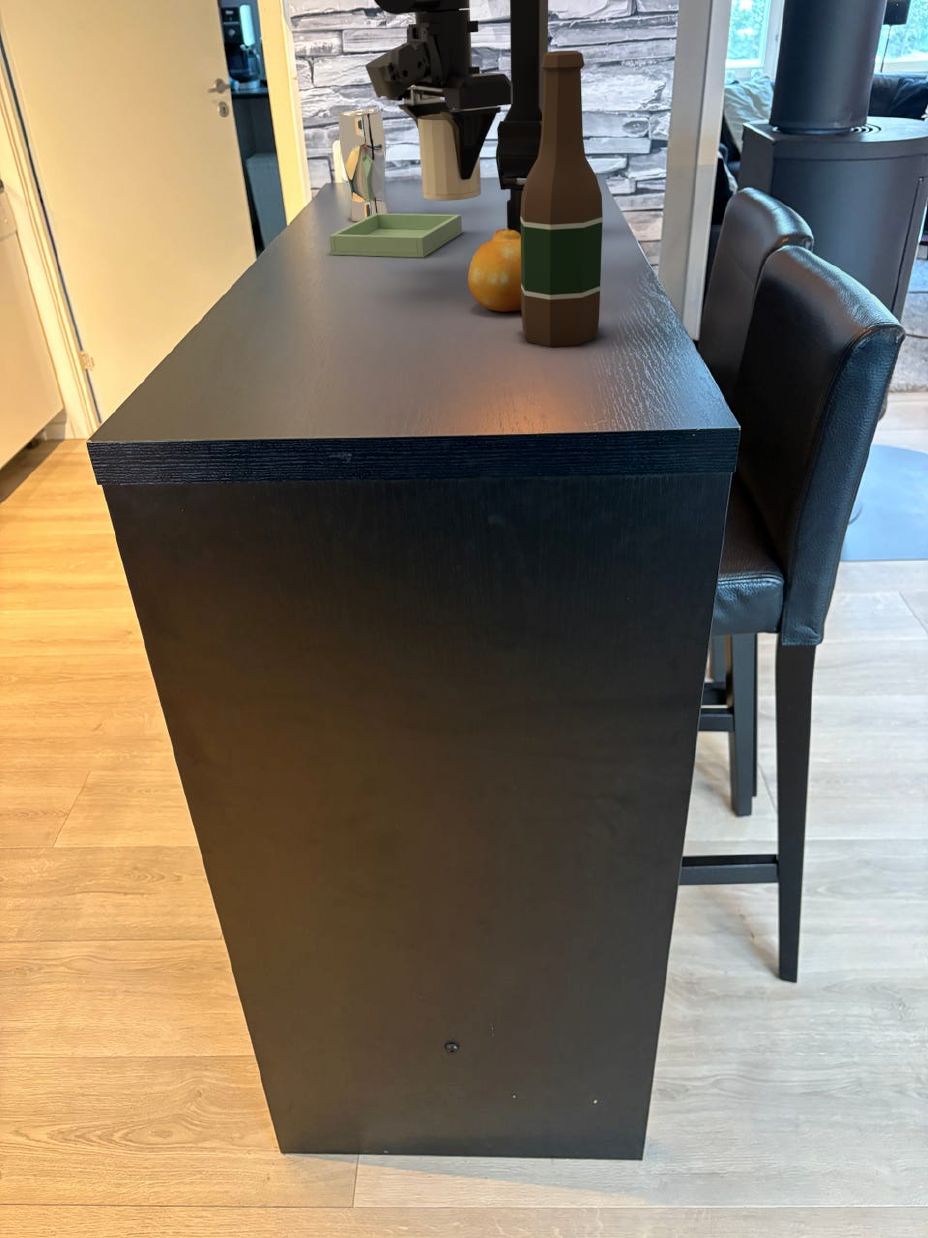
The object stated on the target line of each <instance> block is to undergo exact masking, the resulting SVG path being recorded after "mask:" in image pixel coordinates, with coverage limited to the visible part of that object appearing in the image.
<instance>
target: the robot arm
mask: <svg viewBox="0 0 928 1238" xmlns="http://www.w3.org/2000/svg"><path fill="white" fill-rule="evenodd" d="M373 1H374V3H375V4H376V5H377V6H378V8H380V10H382V11H384V12H385V13H387V14H391V15H404V14H405V15H407V14H414V22H415V23H408V25H407V26H408V27H407V28H406V42H404V43H402V44H400V45H399V46H396V47H394V48H392V49H390V50H389V51H387V52H385V53H382V54H381V55H379V56H378V57H376V58H375V59H372V60H371V61H369V62H368V63H366V64H365V70H366V73H367V75H368V77H369V80H370V82H371V85H372V87H373V90H374V92H375V95H376V98H381V97H385V98H387V100H388V101H392V102H393V101H394V102H401V101H403V103H400V104H399V103H398V104H397V107H398V109H400V110H401V111H403V112H404V113H406V114H407V115H408V117H410V118H411V119H412V120H413V122H414V123H415V125H416V128H417V129H418V117H421V116H425V115H431V114H442V116H443V117H444V118H445V119H446V120H447V121H448V122H449V124H450V125H451V126H452V128H453V135H454V142H455V149H456V156H457V163H458V169H459V174H460V178H461V179H462V180H467V179H470V178H471V176H472V173H473V170H474V168H475V165H476V162H477V160H478V157H479V155H480V154H481V151H482V149H483V146H484V144H485V142H486V139H487V137H488V135H489V132H490V131H491V127H492V125H493V123H494V121H495V118H496V116H497V114H500V113H501V111H502V107H501V106H510V107H509V108H508V110H507V113H506V115H505V116H504V118H503V120H500V121H499V123H498V124H497V128H496V134H497V145H496V149H495V164H496V171H497V175H498V181H499V187H500V190H501V191H506V190H509V191H510V192H509V199H508V200H507V201H506V228H509V230H514V231H516V232H518V233H519V234H520V235H521V219H520V215H521V198H522V192H523V189H524V185H525V182H526V179H527V176H528V174H529V172H530V171H531V169H532V167H533V165H534V164H535V162H536V160H537V158H538V155H539V148H540V142H541V130H542V111H543V93H544V74H545V71H544V69H543V68H542V67H541V64H542V60H543V55H544V54H546V53H548V52H549V0H509V31H510V32H509V33H510V35H509V36H510V37H509V40H510V42H509V43H510V44H509V45H510V47H509V48H510V78H509V77H508V76H507V75H506V73H501V72H500V73H499V72H481V71H480V70H481V69H480V68H481V67H480V66H476V65H473V59H472V57H473V56H472V55H473V54H472V33H479V20H471V9H470V8H471V5H470V0H373ZM442 98H444V99H442Z"/></svg>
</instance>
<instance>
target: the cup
mask: <svg viewBox="0 0 928 1238" xmlns="http://www.w3.org/2000/svg"><path fill="white" fill-rule="evenodd" d="M417 131H418V144H419V159H420V174H421V187H422V190H421V191H422V197H423V199H425V200H429V201H436V202H437V201H439V202H448V201H449V202H451V201H461V200H462V201H463V200H469V199H473V198H476V197H479V196H480V195H481V194H482V192H481V191H482V189H481V188H482V183H481V181H482V180H481V156H480V155H479V157H478V160H477V162H476V165H475V168H474V170H473V173H472V176H471V178H470V179H467V180H462V179H461V178H460V174H459V169H458V163H457V156H456V149H455V142H454V135H453V128H452V126H451V125H450V124H449V122H448V121H447V120H446V119H445V118H444V117H443V116H442V114H431V115H425V116H421V117H418V128H417Z"/></svg>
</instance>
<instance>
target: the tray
mask: <svg viewBox="0 0 928 1238" xmlns="http://www.w3.org/2000/svg"><path fill="white" fill-rule="evenodd" d="M462 227H463V225H462V214H446V213H445V214H442V213H441V214H438V213H436V214H434V213H389V214H383V213H380V214H379V213H375V214H373V215H371V216H369V217H367V218H365V219H363V220H361V221H358V222H356V221H355V222H354V223H352V224H350V225H348V226H346V227H343V228H342V229H340V230H338V231H335V232H334V233H332V234H330V235H328V239H329V240H328V241H329V248H330V255H331V256H355V257H356V256H357V257H362V256H363V257H390V258H391V257H393V258H422V259H423V258H425V257H427V256H428V255H430V254H432V253H433V252H434V251H436V250H438V249H440V248H441V247H442V246H444V245H445V244H447V243H448V242H450V241H452V240H453V239H455V238H457V237H458V236H460V235H461V234H462V233H463V228H462Z"/></svg>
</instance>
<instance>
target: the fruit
mask: <svg viewBox="0 0 928 1238" xmlns="http://www.w3.org/2000/svg"><path fill="white" fill-rule="evenodd" d="M468 287H469V291H470V293H471V295H472V297H473V298H474V300H475V301H476V302H477V303H478V304H479V305H481V306H482V307H483V308H485V309H487V310H490V311H495V312H503V313H504V312H508V313H509V312H514V311H522V306H521V235H520V234H519V233H518V232H516V231H514V230H509V228H507V227H506V228H502V229H498V230H496V231H495V232H494V234H493V236H492V238H491V239H490V240H488V241H486V242H484V243H483V244H482V245H481V246H479V248H478V249H477V250H476V252H475V253H474V255H473V257H472V260H471V262H470V265H469V269H468Z"/></svg>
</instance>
